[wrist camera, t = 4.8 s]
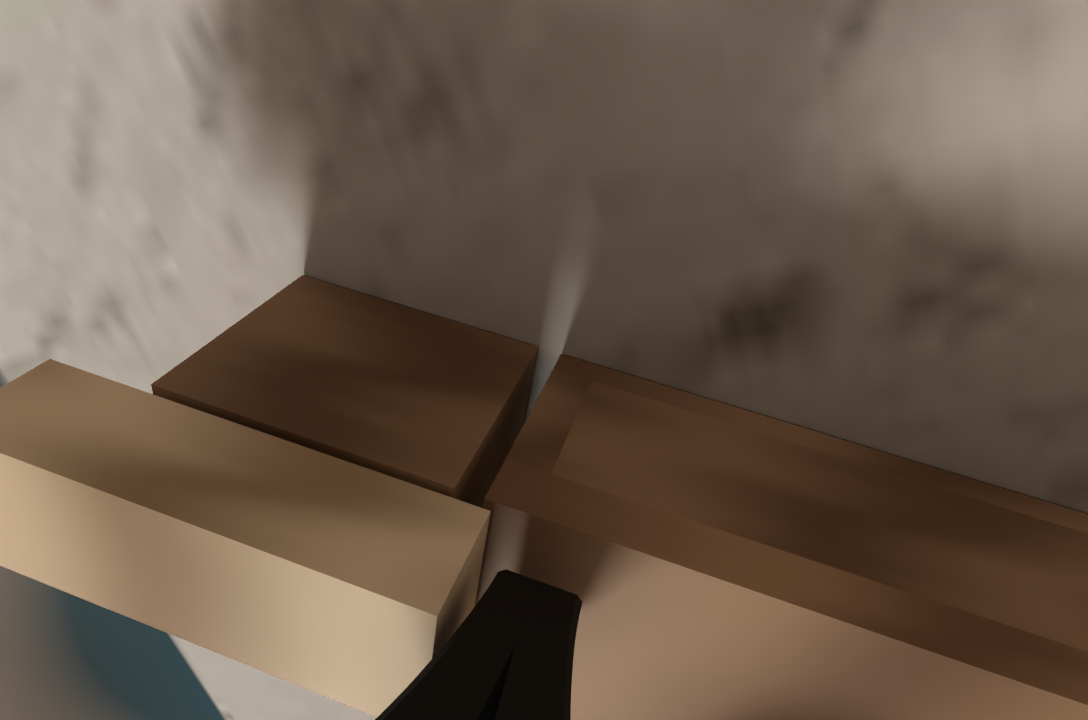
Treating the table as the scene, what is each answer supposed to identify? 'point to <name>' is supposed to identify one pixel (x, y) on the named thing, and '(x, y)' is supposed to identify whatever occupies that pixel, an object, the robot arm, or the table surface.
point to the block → (232, 535)
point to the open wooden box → (630, 451)
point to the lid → (755, 623)
